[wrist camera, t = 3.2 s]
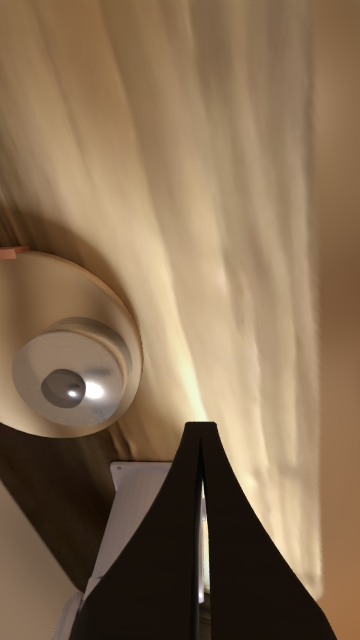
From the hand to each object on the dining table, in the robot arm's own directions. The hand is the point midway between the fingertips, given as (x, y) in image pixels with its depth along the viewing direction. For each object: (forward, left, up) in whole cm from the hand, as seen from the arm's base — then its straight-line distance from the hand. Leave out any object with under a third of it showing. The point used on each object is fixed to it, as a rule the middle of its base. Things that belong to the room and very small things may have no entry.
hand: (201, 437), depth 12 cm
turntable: (+13, 0, -9) cm, 16 cm away
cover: (+9, 0, -7) cm, 11 cm away
